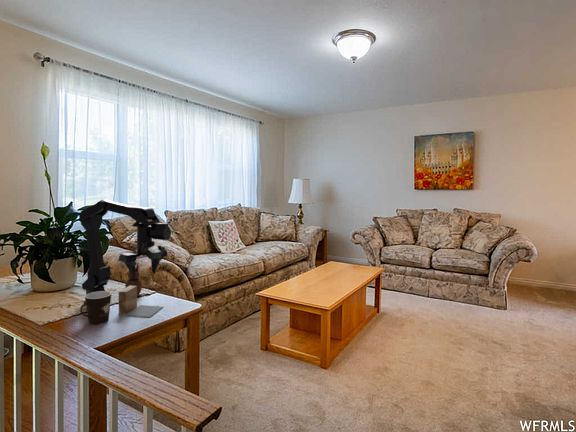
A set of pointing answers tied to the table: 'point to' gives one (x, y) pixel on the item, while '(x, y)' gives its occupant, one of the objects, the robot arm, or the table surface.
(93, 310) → the coffee mug
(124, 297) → the wooden block
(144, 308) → the rubber mat
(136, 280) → the wooden figurine
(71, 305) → the table surface
